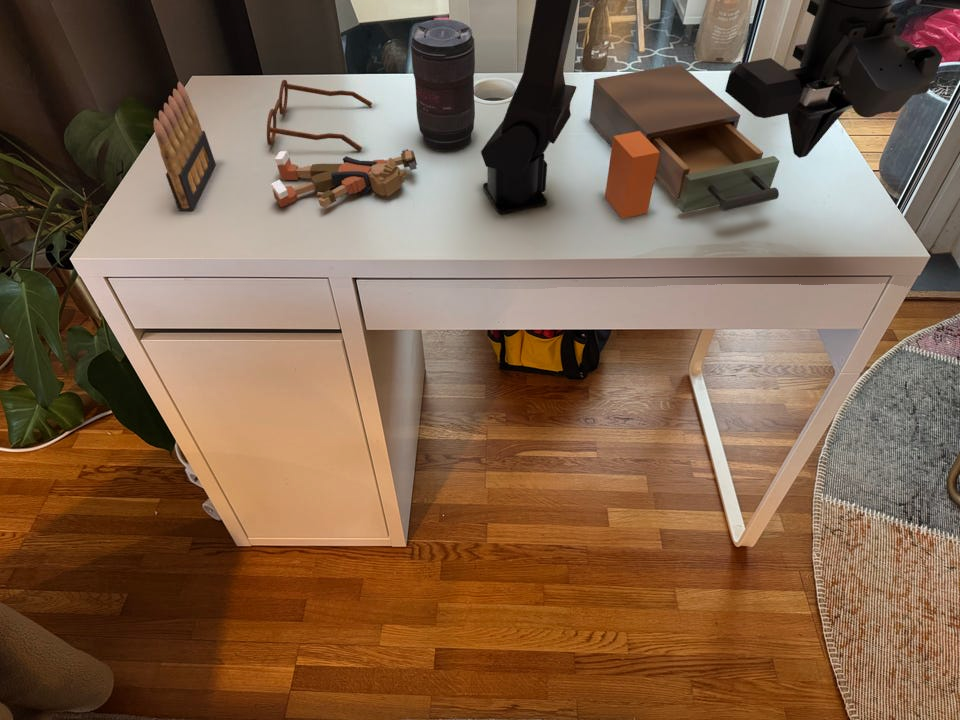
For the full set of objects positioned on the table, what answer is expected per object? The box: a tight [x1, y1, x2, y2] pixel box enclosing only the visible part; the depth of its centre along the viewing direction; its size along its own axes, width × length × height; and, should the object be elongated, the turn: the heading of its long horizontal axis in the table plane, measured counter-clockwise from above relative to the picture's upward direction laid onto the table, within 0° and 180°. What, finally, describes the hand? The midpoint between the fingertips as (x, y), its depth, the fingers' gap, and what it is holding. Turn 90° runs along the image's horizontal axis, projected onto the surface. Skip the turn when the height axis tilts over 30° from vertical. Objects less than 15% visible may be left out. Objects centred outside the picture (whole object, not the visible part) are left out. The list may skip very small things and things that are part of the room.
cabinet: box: [589, 63, 741, 148], centre depth 96 cm, size 15×13×6 cm
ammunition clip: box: [153, 81, 217, 212], centre depth 88 cm, size 11×2×12 cm, turn 179°
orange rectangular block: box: [604, 131, 660, 220], centre depth 85 cm, size 5×4×8 cm
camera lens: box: [410, 18, 476, 152], centre depth 94 cm, size 8×8×15 cm
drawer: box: [650, 122, 780, 214], centre depth 88 cm, size 19×12×5 cm, turn 19°
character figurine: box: [271, 148, 418, 209], centre depth 90 cm, size 12×5×18 cm
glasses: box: [266, 79, 373, 152], centre depth 100 cm, size 13×13×5 cm
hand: (799, 155), depth 73 cm, fingers closed
